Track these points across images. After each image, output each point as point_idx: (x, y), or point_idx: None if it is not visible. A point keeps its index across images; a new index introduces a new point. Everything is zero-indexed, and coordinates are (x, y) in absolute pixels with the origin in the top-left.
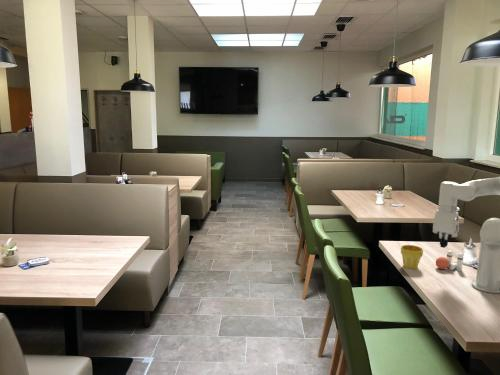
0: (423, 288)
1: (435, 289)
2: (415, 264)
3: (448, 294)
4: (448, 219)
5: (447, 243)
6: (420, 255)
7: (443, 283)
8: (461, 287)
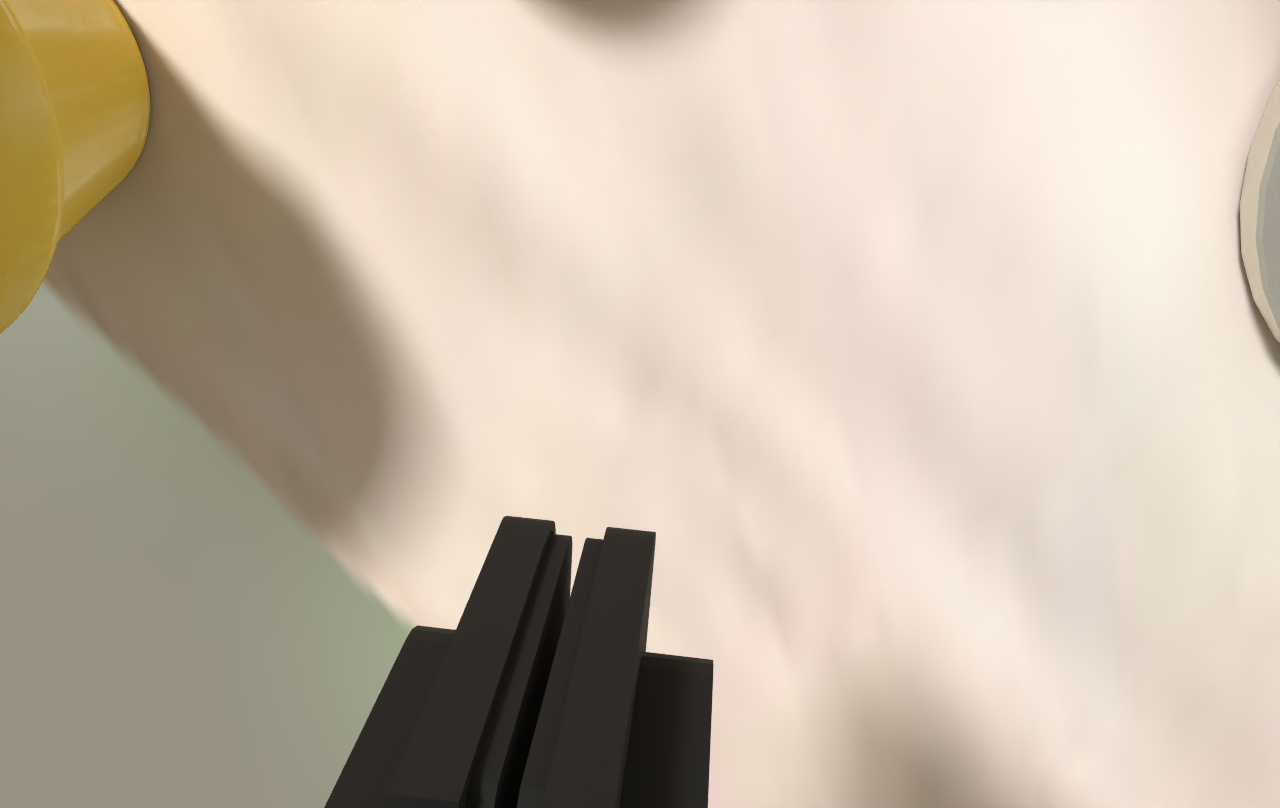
0: None
1: (759, 747)
2: (106, 177)
3: (943, 794)
4: None
5: (707, 734)
6: (36, 213)
7: (791, 486)
8: (1075, 465)
